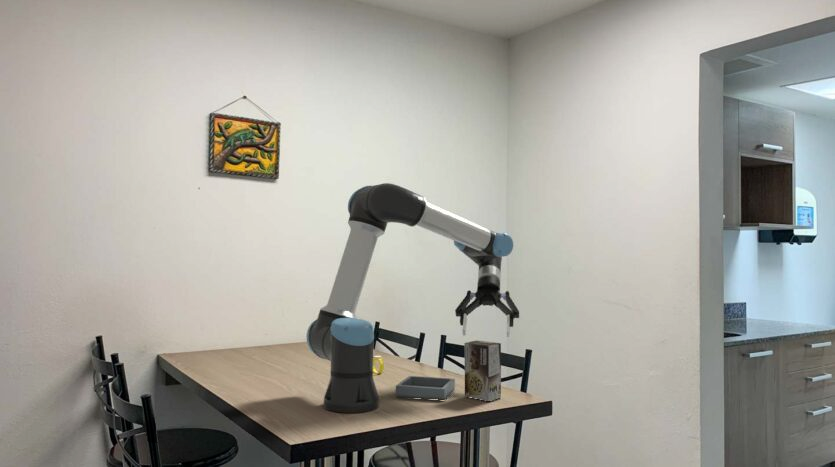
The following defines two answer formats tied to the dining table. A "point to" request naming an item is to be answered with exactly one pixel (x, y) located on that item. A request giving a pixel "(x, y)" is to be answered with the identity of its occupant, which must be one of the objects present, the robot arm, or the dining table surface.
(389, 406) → the dining table surface
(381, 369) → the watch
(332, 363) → the robot arm
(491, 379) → the coffee box
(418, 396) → the tray
